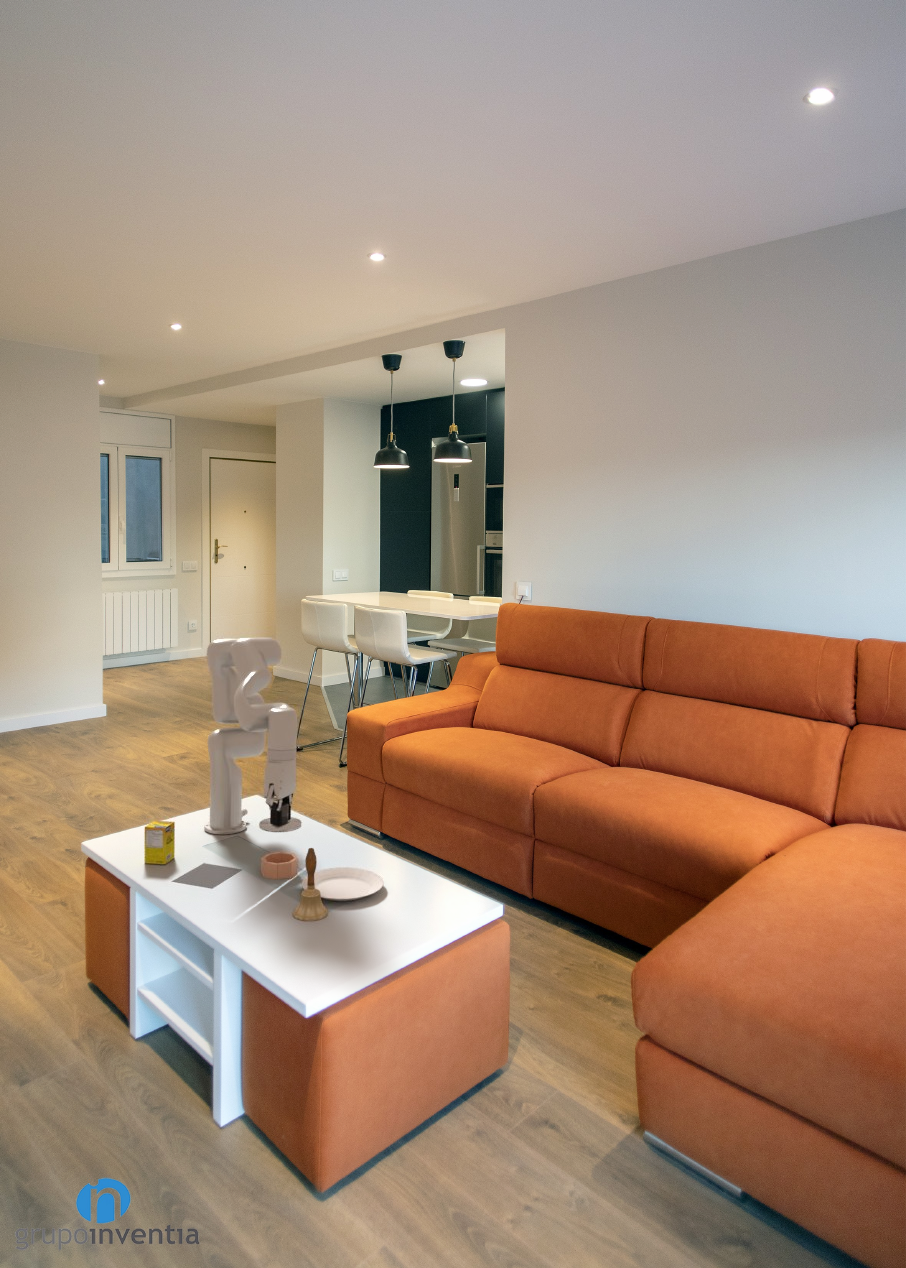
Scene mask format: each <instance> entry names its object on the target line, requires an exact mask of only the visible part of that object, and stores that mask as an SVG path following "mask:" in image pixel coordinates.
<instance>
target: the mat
mask: <svg viewBox="0 0 906 1268" xmlns="http://www.w3.org/2000/svg"><path fill="white" fill-rule="evenodd" d="M242 870H243V869H242V868H236V867H229V866H224V865H217V864H211V863H206V862H203V863H202V864H200V865H198V866H197V867H195V868H193V869H191V870H190V871H187V872H185V873H183V874H182V875H180V876H178V877H177V878H175V879H174V880H173V879H172V881H171V882H174V883H177V884H185V885H190V886H195V887H201V888H207V889H214V888H216V887H217V886H219V885H221V884H222V883H224V882H225V881H227V880H228V879H230V878H231V877H233V876H235V875H236V874H238V873H239V872H242Z"/></svg>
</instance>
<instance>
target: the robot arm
mask: <svg viewBox="0 0 906 1268" xmlns="http://www.w3.org/2000/svg"><path fill="white" fill-rule="evenodd" d="M281 659H282V649H281V646H280V643H279V642H278V640H276V639H275V638H274V637H243V638H222V639H216V640H213V641H211V642H210V643H209V644H208V646H207V649H206V661H207V663H206V664H207V666H208V668H209V672H210V676H211V681H212V689H211V690H212V691H211V692H212V694H211V695H212V696H211V697H212V717H213V720H214V721H215V722H216V723H218V724H222V725H230V724H239V726H240V727H238V726H235V727H226V728H225V727H224V728H223V727H222V728H219V729H218V728H217V729H216V730H213V731H211V732H210V734H209V735H208V737H207V749H208V756H209V765H210V766H209V767H210V768H209V769H210V773H209V774H210V776H209V779H210V780H209V821H208V822H206V823H205V824H204V825H203V826H204V831H205V832H207V833H210V834H213V835H233V834H237V833H240V832H242V831H244V830H246V829H247V823H246V822H245V821H244V820H243V817H244V816H246V815H248V810H247V809H246V808H243V809H242V801H243V799H242V796H243V795H242V791H243V772H242V770H241V768H240V766H239V765H238V764H237V763H236V761H235V760H236V759H241V758H242V759H243V758H250V757H251V758H252V757H257V756H260V755H262V754H263V753H264V751H265V749H266V732H267V751H266V752H267V753H266V754H267V755H266V756H267V757H266V760H267V761H266V765H265V769H264V778H263V790H262V791H263V792H262V793H263V798H264V799H265V804H266V805H268V807H269V808H268V809H269V815H270V816H269V818H270V824H273V825H282V810H281V802H285V803H288V804H289V807H288V820H290V819H291V817H292V816H291V815H292V803H293V797H294V794H295V793H296V791H297V790H296V789H297V762H296V760H297V743H298V742H297V741H298V737H297V733H298V731H297V730H298V712H297V711H296V709H294V707H290V705H289V704H288V703H287V702H286V703H285V702H265V700H264V698H263V696H262V695H261V694H260V693H259V692H261V691H263V690H264V689H266V688H267V687H268V686H269V684H270V683H271V682H272V673H271V670H270V669H269V667H272V666H277V665H278V664H279V663H280V662H281Z"/></svg>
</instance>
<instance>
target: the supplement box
mask: <svg viewBox="0 0 906 1268" xmlns="http://www.w3.org/2000/svg"><path fill="white" fill-rule="evenodd" d="M175 824H176V823H175V821H167V820H165V821H164V820H153V821H152V822H150V823H148V824H146V825H145V826H144V864H145V865H153V866H166V865H168V864H169V863H170V862H171V861H173V860H174V859H175V848H176V847H175V846H176V844H175V834H176V833H175V826H176V825H175Z"/></svg>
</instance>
